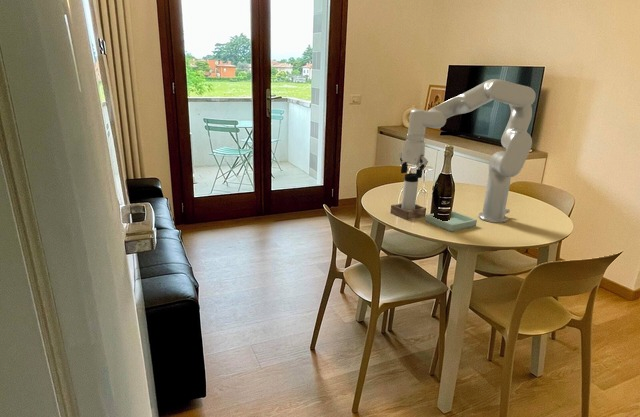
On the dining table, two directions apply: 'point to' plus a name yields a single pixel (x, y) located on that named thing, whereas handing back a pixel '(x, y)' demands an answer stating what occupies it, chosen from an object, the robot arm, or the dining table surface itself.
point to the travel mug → (409, 192)
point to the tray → (452, 222)
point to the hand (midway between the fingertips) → (411, 175)
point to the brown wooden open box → (408, 212)
